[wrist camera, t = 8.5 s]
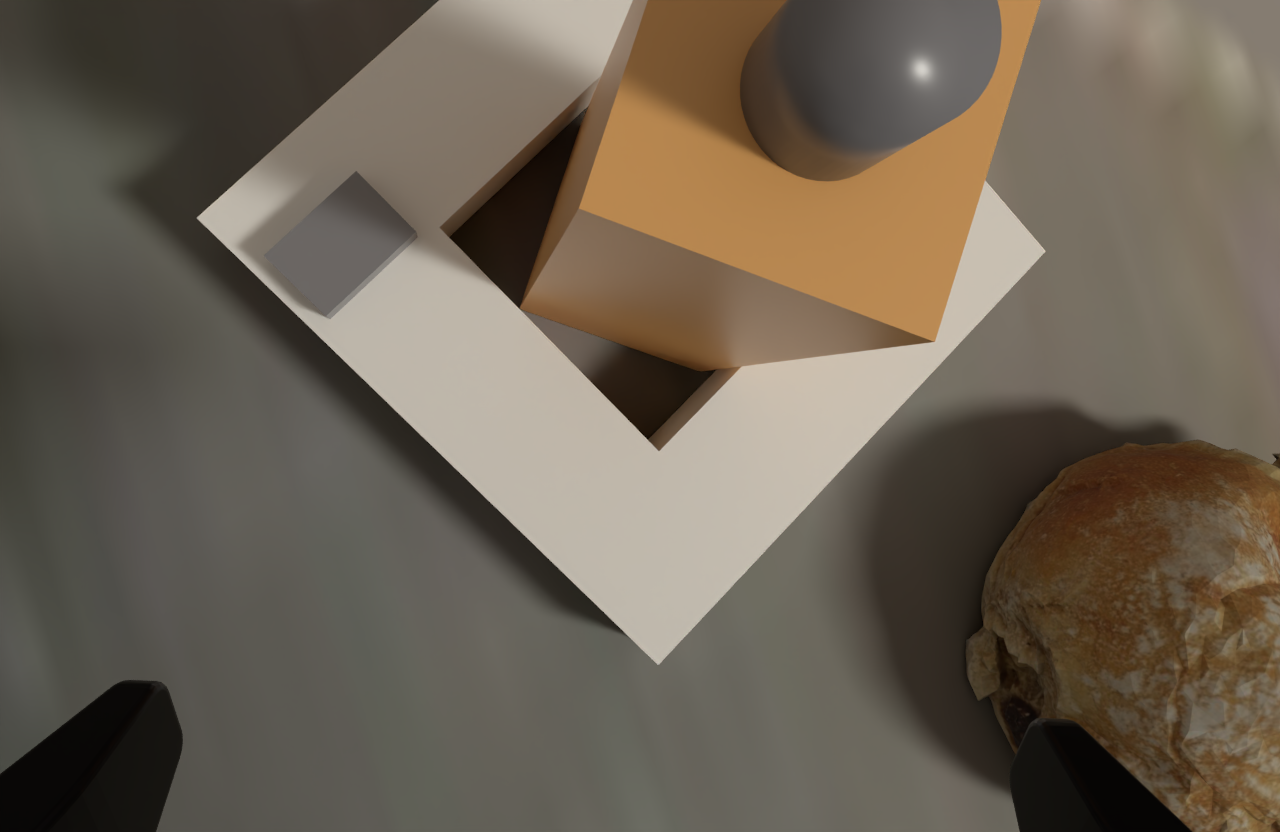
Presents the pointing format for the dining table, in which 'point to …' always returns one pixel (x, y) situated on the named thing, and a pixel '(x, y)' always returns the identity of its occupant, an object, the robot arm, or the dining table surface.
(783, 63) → the plug
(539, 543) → the socket plate
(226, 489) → the dining table surface
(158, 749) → the robot arm
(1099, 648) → the bread roll
